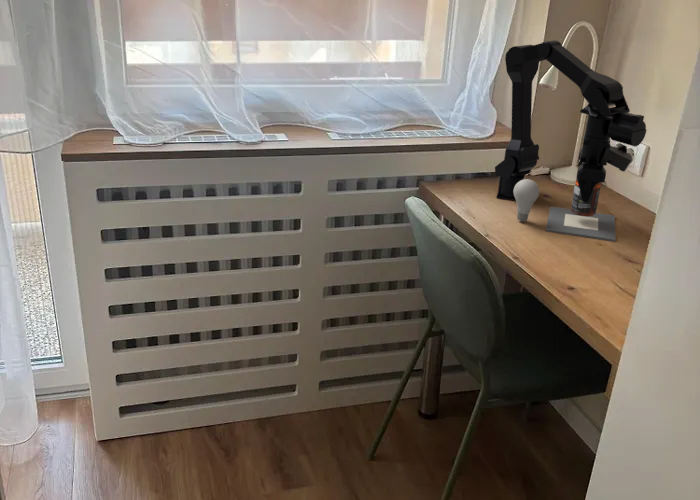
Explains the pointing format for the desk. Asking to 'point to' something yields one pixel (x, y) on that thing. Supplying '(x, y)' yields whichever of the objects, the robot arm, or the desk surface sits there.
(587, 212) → the supplement bottle
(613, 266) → the desk surface
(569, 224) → the card
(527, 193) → the lightbulb
